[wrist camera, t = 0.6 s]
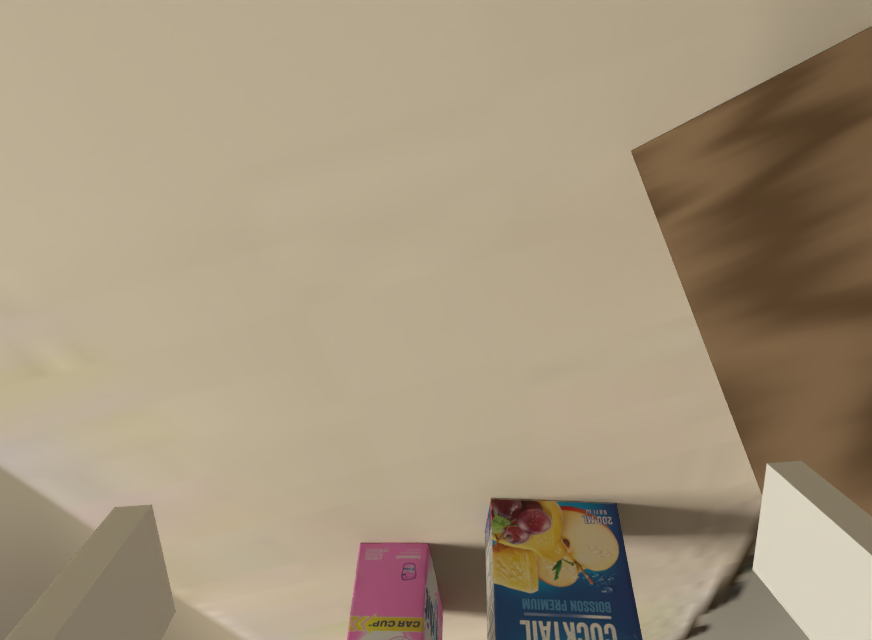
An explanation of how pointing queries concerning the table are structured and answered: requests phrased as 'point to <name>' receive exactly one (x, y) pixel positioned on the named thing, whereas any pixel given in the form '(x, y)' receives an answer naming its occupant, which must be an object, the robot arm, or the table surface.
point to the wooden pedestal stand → (782, 258)
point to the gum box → (395, 594)
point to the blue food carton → (557, 572)
